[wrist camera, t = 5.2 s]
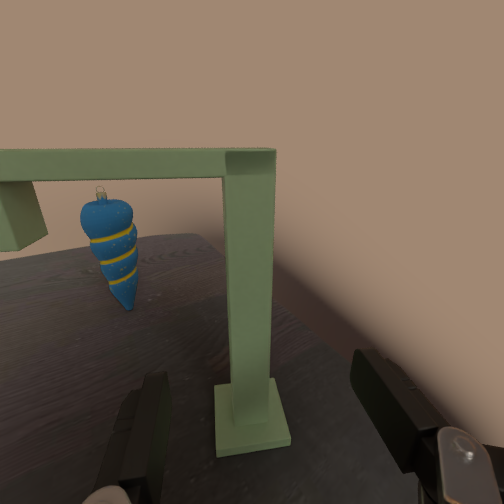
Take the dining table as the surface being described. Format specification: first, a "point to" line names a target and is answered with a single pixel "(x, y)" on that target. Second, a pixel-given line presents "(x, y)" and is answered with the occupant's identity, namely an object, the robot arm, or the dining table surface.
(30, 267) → the dining table surface
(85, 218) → the ornament
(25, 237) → the hook
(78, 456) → the dining table surface
